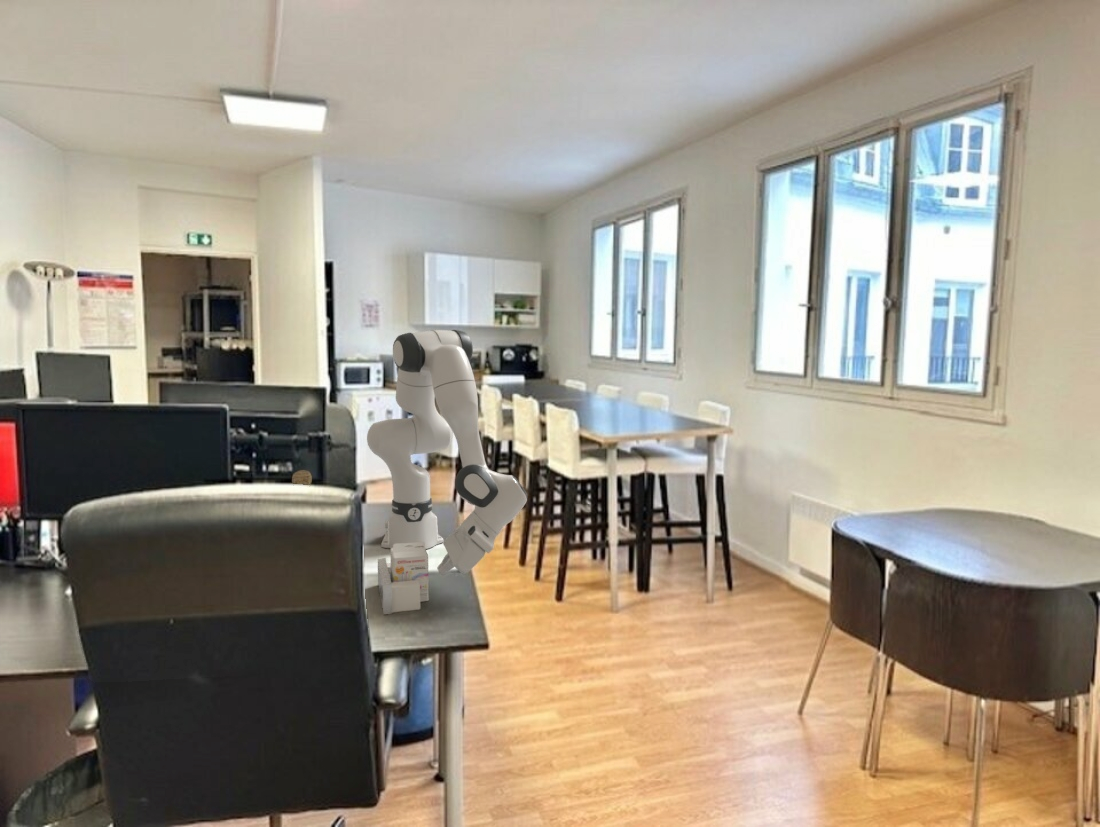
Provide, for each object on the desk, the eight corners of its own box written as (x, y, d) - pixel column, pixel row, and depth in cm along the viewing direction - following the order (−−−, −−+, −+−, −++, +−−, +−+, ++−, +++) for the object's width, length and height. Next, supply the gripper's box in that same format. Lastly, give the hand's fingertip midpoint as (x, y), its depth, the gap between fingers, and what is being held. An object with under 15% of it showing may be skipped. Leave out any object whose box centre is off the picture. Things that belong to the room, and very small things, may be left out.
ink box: (393, 605, 174) (392, 551, 172) (390, 592, 182) (389, 541, 180) (429, 601, 177) (428, 548, 175) (424, 589, 185) (424, 538, 183)
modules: (386, 585, 187) (385, 563, 186) (412, 583, 189) (411, 560, 188) (392, 612, 170) (391, 587, 169) (420, 609, 172) (419, 585, 171)
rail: (378, 585, 187) (377, 558, 186) (386, 584, 188) (385, 558, 187) (383, 614, 168) (382, 586, 167) (392, 613, 169) (391, 585, 168)
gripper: (462, 512, 192) (425, 551, 190) (476, 534, 172) (435, 577, 171) (478, 528, 193) (442, 566, 192) (494, 551, 174) (454, 594, 172)
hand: (439, 572), depth 181 cm, fingers closed
